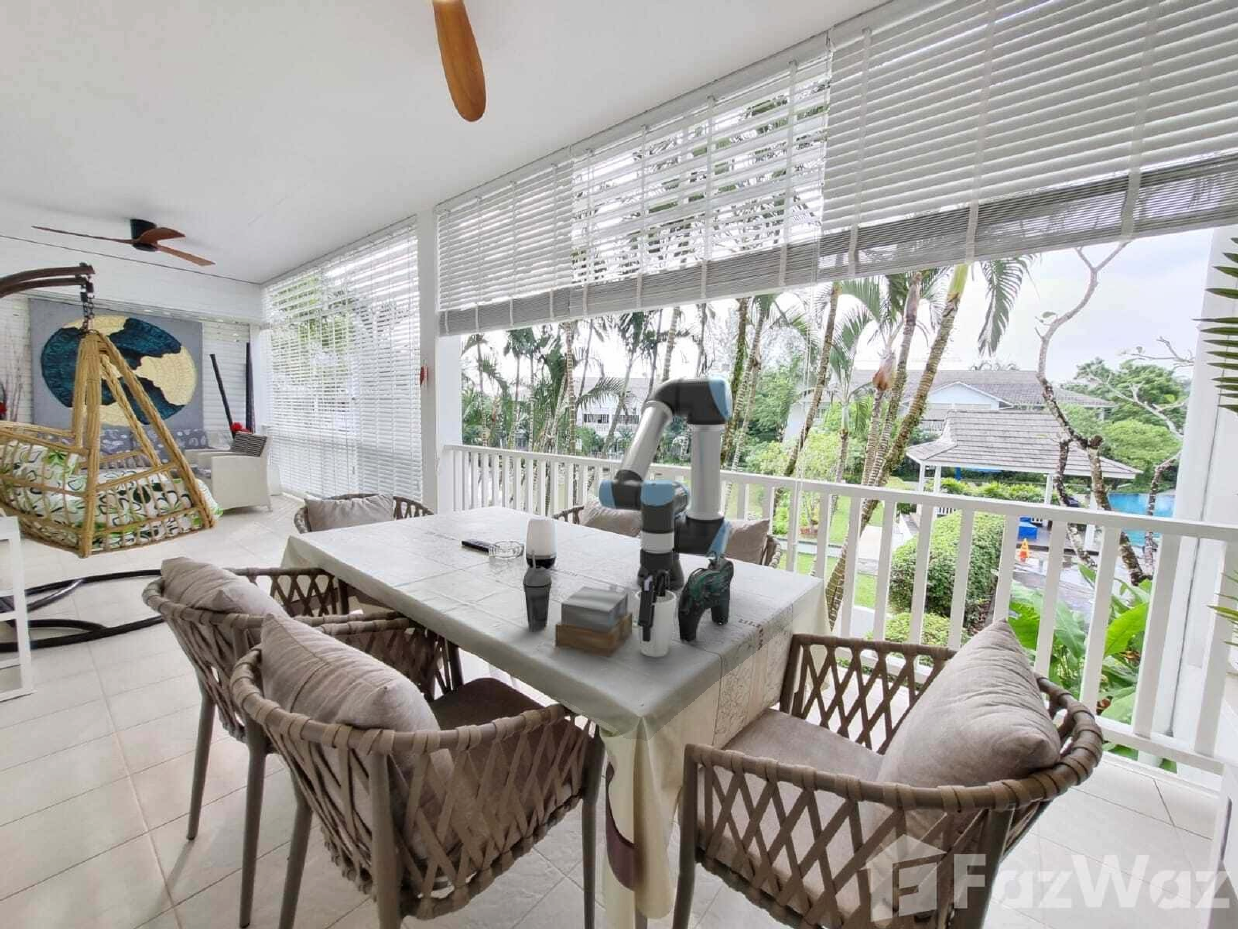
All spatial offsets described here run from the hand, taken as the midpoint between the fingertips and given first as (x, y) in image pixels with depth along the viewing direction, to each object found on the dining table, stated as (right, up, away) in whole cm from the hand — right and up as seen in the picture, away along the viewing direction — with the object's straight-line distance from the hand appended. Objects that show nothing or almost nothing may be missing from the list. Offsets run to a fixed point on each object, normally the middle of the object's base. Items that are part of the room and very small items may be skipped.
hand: (654, 643), depth 114 cm
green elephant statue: (+14, -1, +11) cm, 18 cm away
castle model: (-6, 0, +21) cm, 22 cm away
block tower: (-14, -1, +6) cm, 15 cm away
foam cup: (0, -2, 0) cm, 2 cm away
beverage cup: (-29, 0, +12) cm, 31 cm away
